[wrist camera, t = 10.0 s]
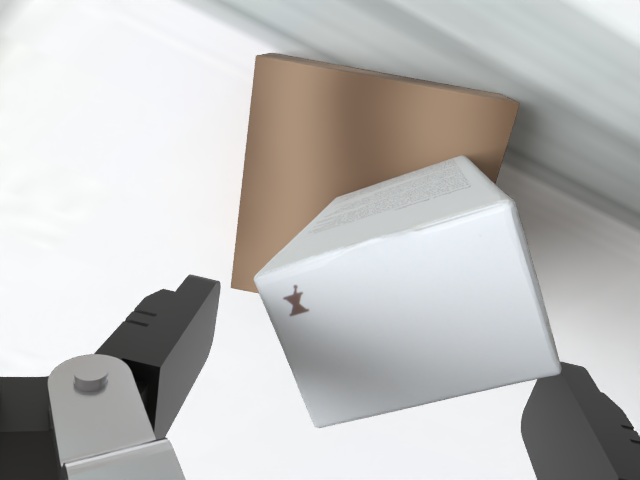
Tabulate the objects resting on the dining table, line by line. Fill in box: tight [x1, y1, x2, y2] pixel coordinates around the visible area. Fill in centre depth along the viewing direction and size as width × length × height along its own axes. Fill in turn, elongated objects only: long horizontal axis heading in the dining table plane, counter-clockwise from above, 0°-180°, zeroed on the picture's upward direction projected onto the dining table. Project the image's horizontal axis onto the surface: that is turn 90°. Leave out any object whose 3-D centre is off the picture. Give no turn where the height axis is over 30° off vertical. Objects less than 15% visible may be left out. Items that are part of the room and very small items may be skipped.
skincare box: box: [254, 155, 562, 428], centre depth 17 cm, size 6×4×12 cm
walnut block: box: [231, 53, 520, 293], centre depth 25 cm, size 11×11×4 cm
